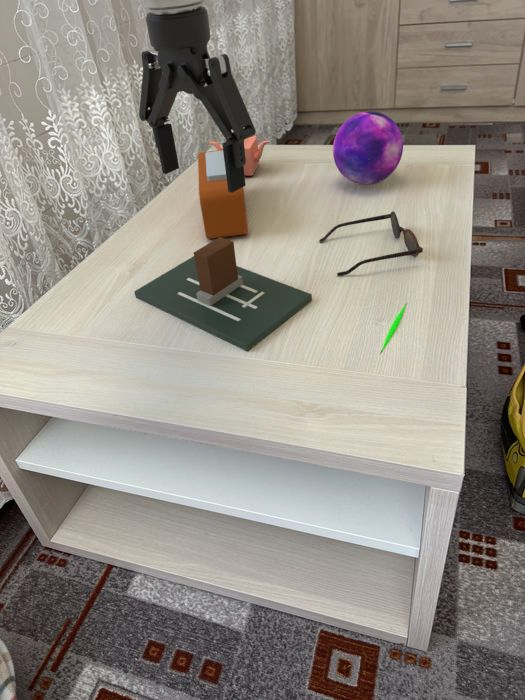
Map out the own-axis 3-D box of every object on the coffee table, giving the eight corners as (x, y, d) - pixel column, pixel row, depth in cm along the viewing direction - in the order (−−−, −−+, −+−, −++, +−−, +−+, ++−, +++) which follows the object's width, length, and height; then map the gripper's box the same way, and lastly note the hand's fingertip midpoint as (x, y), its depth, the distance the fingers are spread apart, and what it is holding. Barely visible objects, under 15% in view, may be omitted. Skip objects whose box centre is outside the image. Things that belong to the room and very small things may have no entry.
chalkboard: (135, 297, 95) (133, 291, 94) (201, 257, 104) (200, 251, 103) (247, 351, 81) (246, 344, 80) (312, 300, 90) (311, 293, 89)
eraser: (210, 306, 89) (202, 260, 83) (197, 300, 90) (188, 255, 85) (243, 284, 93) (237, 238, 88) (230, 278, 95) (224, 234, 89)
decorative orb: (346, 200, 118) (346, 128, 109) (324, 175, 130) (323, 109, 120) (411, 188, 120) (418, 117, 110) (384, 165, 131) (388, 98, 122)
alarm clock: (248, 237, 109) (242, 182, 101) (206, 242, 108) (197, 187, 101) (240, 189, 127) (234, 140, 120) (204, 194, 127) (196, 144, 120)
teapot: (267, 180, 130) (264, 145, 125) (206, 181, 133) (201, 146, 128) (276, 162, 139) (274, 128, 134) (219, 162, 142) (214, 129, 137)
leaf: (409, 304, 87) (409, 300, 87) (382, 357, 78) (382, 353, 77) (404, 303, 88) (404, 299, 87) (376, 356, 78) (376, 352, 78)
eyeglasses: (421, 264, 95) (424, 238, 92) (338, 279, 94) (339, 253, 91) (390, 228, 107) (392, 203, 104) (316, 240, 105) (316, 216, 102)
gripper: (275, 4, 61) (286, 187, 75) (134, 1, 75) (164, 156, 88) (229, 16, 57) (249, 207, 71) (89, 11, 71) (128, 172, 84)
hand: (202, 179), depth 79 cm, fingers open, 13 cm apart
